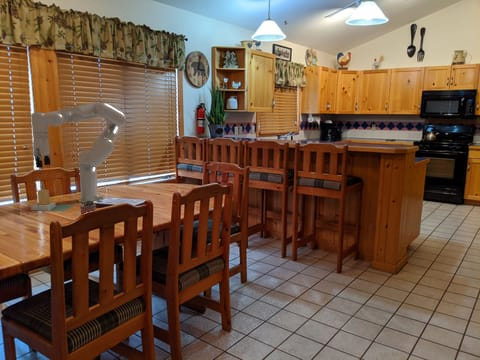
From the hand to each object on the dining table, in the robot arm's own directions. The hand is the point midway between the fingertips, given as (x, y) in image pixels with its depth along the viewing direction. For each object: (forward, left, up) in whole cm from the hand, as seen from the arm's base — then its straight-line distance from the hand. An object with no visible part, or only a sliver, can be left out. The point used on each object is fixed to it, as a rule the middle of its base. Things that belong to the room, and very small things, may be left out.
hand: (43, 166), depth 210 cm
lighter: (-33, +23, -24) cm, 47 cm away
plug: (-2, +6, -23) cm, 24 cm away
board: (-6, +4, -24) cm, 25 cm away
